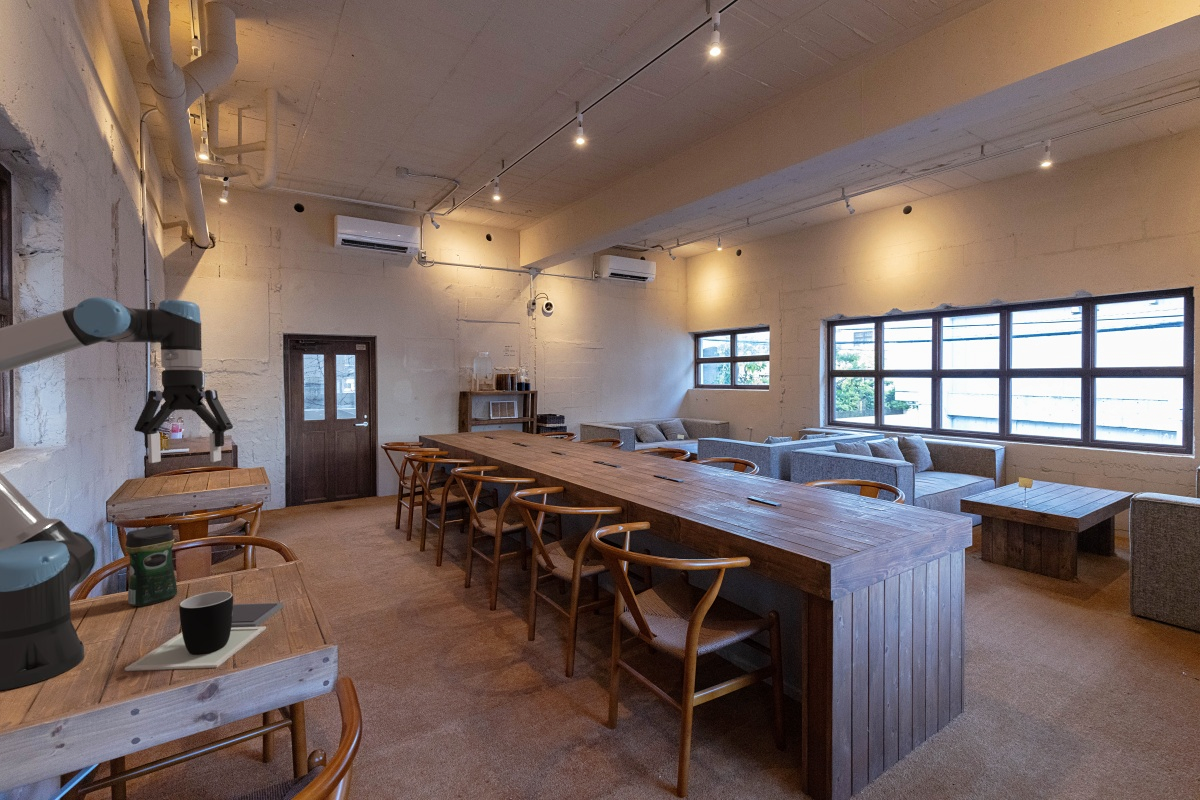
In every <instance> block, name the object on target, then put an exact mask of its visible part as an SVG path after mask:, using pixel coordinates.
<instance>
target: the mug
mask: <svg viewBox="0 0 1200 800" xmlns="http://www.w3.org/2000/svg"><path fill="white" fill-rule="evenodd" d="M233 604H234V595H233V593H232V592H230V591H227V590H226V591H225V590H219V591H217V590H216V591H209V592H204V593H203V592H202V593H199V594H196V595H192V596H190V597H188V598H185V599H184V600H182V601H181V602H180V603H179V610H178V612H179V621H180V629H181V632H182V635H183V639H184V643H185V646H186V649H187V650H188V652H189V653H190V654H193V655H202V654H208V653H212V652H215V651H217V650H219V649H221V648H223V647H224V646H225V645H226V644H227V642H228V640H229V637H230V632H231V626H232V615H233Z"/></svg>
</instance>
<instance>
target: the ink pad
mask: <svg viewBox="0 0 1200 800" xmlns="http://www.w3.org/2000/svg"><path fill="white" fill-rule="evenodd" d="M284 606H285V603H284V602H263V603H261V602H260V603H259V602H258V603H257V602H255V603H233V615H232V626H231V628H234V627H260V626H261V625H262V624H263V623H264V622H266V621H267V620H269V619H270V618H271V617H272V616H274V615H275V614H276V613H277V612H279V611H280V610H281V609H282V608H284Z"/></svg>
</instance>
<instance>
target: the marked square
mask: <svg viewBox="0 0 1200 800" xmlns="http://www.w3.org/2000/svg"><path fill="white" fill-rule="evenodd" d="M266 629H267V626H265V625H263V626H258V627H234V628H231V632H230V637H229V640H228V642H227V644H226V645H225V646H224V647H223V648H221V649H219V650H217V651H215V652H212V653H208V654H202V655H193V654H190V653H189V652H188V650H187V649H186V646H185V643H184V639H183V635H182V631H181V632H180V633H178V634H176V635H175V636H173V637H172V638H170V639H169V640H167V641H165V642H164V643H163V644H160V645H159V646H158V647H156V648H155V649H152V650H151V651H150V652H148V653H146V654H145V655H144V656H141V657H140V658H138V659H137V660H136V661H135V662H132V663H131V664H129V665H128V666H126V667H124V671H125V672H132V671H156V670H157V671H159V670H161V671H162V670H163V671H164V670H184V669H185V670H186V669H187V670H188V669H189V670H190V669H213V668H219V667H220V666H222V665H223V664H224V663H225V662H226V661H228V660H229V659H230V658H231V657H232V656H234V655H235V654H236V653H237V652H238V651H240V650H242V649H243V647H245V646H246V645H248V643H250V642H251V641H252V640H254V639H255V638H256V637H258V636H259V635H260V634H261V633H263V632H264V631H265V630H266Z"/></svg>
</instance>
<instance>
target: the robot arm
mask: <svg viewBox="0 0 1200 800" xmlns="http://www.w3.org/2000/svg"><path fill="white" fill-rule="evenodd" d="M200 311H201V310H200V306H199V305H198V304H196V303H195V302H192V301H187V300H175V299H173V300H169V299H168V300H167V299H166V300H161V301H159V304H158V307H157V308H149V309H148V308H132V307H127V306H125V305H123V304H122V303H120V302H119V301H116V300H114V299H111V298H106V297H89V298H86V299H84V300H82V301H81V302H79V303H78V304H77V305H76V306H74V307H70V308H67V309H65V310H60V311H56V312H53V313H50V314H46V315H43V316H39V317H34V318H32V319H28V320H26V321H22V322H17V323H14V324H11V325H7V326H4V327H1V328H0V374H3V373H6V372H9V371H11V370H12V371H13V370H15V369H18V368H21V367H24V366H27V365H30V364H33V363H36V362H40V361H43V360H46V359H49V358H52V357H56V356H59V355H62V354H65V353H69V352H70V351H71V352H72V351H75V350H78V349H81V348H84V347H88V346H91V345H95V344H98V343H101V342H105V343H111V344H114V343H116V344H117V343H152V344H153V343H154V344H157V343H159V344H160V360H161V361H160V362H161V363H160V364H161V368H163V369H164V370H162V371H161V385H162V387H163V390H162V391H161V390H149V391H148V392H147V393H148V394H147V401H146V403H145V405H144V407H143V410H142V411H141V413H140V416H139V418H138V420H137V421H136V424H135V426H134V428H133V430H134V431H135V432H139V433H141V434H143V435H144V446H145V448H146V449H147V451H148V452H147V455H148V456H147V457H148V460H147V461H148V463H149V464H154V463H159V462H162V461H161V460H162V459H161V458H162V457H161V456H162V455H161V453H162V451H161V434H160V433H159V432H158V430H159V429H160V428H161V426H162V425H163V424H164V423H165V422H166V420H167V419H168V418H169V417H170V416H171V414H172V413H173V412H174V411H175V412H176V411H183V410H184V411H189V410H191V411H192V412H194V413H196V414H197V416H198V417H199V418H200V419H201V420H202V421H203V422H204V423H205V424H206V425H207V426H208V428H209V429H211V433H208V434H209V459H210V460H209V461H210V462H211V463H215V462H219V461H220V462H221V461H222V447H224V445H225V432H226V431H228V430H232V429H233V428H234V426H233V423H232V422H231V420H230V418H229V416H228V414H227V413H226V411H225V409H224V408H223V405H222V404H221V402H220V400H219V397H218V391H217V390H216V389H206V390H204V391H203V384H204V383H203V382H204V381H203V379H204V378H203V377H204V376H203V375H204V374H203V373H204V372H203V371H202V370H200V369H201V368H203V351H202V321H201V312H200ZM203 399H204V400H205V401H206V404H207V405H208V407H209V409H210V411H211V412H210V411H209V409H208V408H207V406H206V405H205V403H203V401H202V400H203ZM162 400H164V403H163V404H162V405H161V406H160V404H161V402H162ZM159 406H160V409H159V410H158V408H159ZM156 412H157V413H156ZM98 557H99V556H98V548H97V545H96V544H95V542H94V541H93V540H92V538H90V537H89V536H88V535H86V534H84V533H81V532H77V531H72V530H71V529H70V528H69V527H68V526H67V525H66V524H65V522H63V521H62V520H61V519H60V518H47V517H46V516H45V515H44V514H43V513H41V512H40V511H39V510H38V509H37V508H36V507H35V506H34V505H33V504H32V503H31V502H30V501H29V500H28V499H27V498H26V497H25V496H24V495H23V494H22V493H21V492H20V490H18V489H17V488H16V486H14V484H12V483H11V482H10V481H9V480H8V479H7V478H6V477H5V476H4V475H3V474H2V473H1V472H0V691H4V690H11V689H15V688H21V687H25V686H28V685H32V684H35V683H38V682H41V681H45V680H48V679H50V678H53V677H56V676H58V675H60V674H62V673H63V674H64V673H65V672H67V671H69V670H71V669H72V668H75V667H76V666H77V665H79V664H80V663H81V662H82V661H83V660H84V658H85V645H84V643H83V642H82V641H81V640H80V639H79V635H78V633H77V630H76V628H75V627H74V624H73V622H72V618H71V595H70V594H71V593H70V592H71V591H72V590H73V589H74V588H75V587H77V586H78V585H79V584H81V583H82V582H84V581H85V580H86V579H87V578H88V576H90V574H91V573H92V571H93V569H94V568H95V566H96V564H97V561H98Z"/></svg>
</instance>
